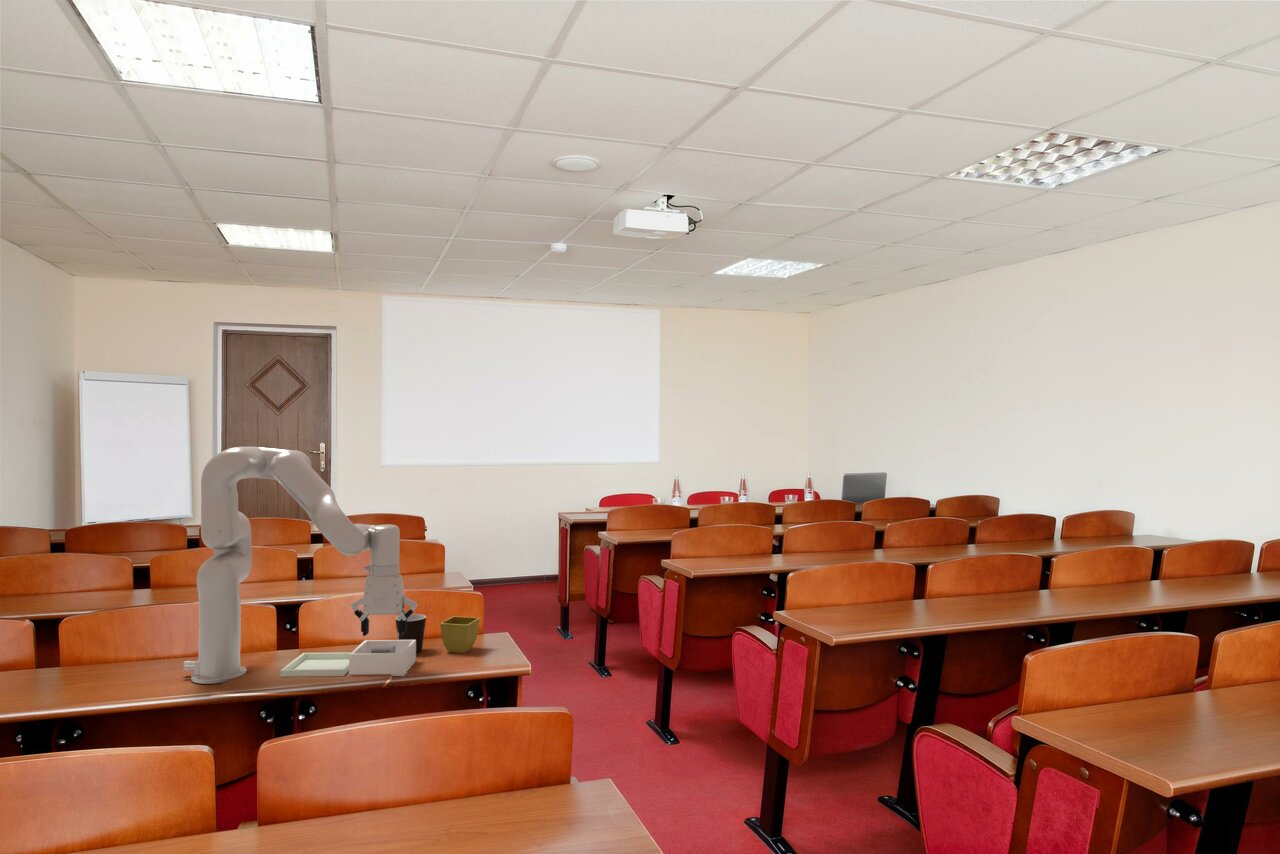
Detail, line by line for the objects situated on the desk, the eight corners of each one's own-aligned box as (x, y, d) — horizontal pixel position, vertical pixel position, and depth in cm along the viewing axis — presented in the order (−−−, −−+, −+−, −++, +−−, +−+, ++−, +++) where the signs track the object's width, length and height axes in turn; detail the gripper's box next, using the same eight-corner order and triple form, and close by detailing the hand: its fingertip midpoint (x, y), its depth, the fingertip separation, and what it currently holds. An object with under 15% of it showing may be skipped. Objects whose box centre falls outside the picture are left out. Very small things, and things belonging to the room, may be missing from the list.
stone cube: (371, 669, 205) (371, 650, 205) (376, 663, 210) (376, 645, 210) (390, 668, 205) (390, 650, 205) (395, 663, 210) (395, 644, 210)
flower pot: (467, 656, 220) (467, 624, 220) (439, 654, 222) (439, 622, 222) (479, 647, 229) (480, 617, 229) (452, 646, 231) (452, 616, 231)
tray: (280, 679, 198) (280, 670, 198) (303, 661, 214) (303, 652, 214) (343, 678, 199) (343, 669, 199) (361, 660, 215) (362, 652, 215)
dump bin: (348, 677, 200) (349, 654, 200) (364, 661, 214) (364, 640, 214) (403, 676, 201) (404, 653, 201) (415, 661, 215) (416, 639, 215)
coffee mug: (420, 656, 220) (421, 621, 220) (390, 656, 220) (391, 620, 220) (432, 645, 231) (432, 611, 232) (403, 645, 231) (404, 611, 232)
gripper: (347, 573, 203) (346, 638, 203) (414, 573, 205) (413, 637, 204) (356, 568, 211) (355, 631, 211) (420, 568, 212) (419, 630, 212)
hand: (384, 634), depth 208 cm, fingers open, 9 cm apart
